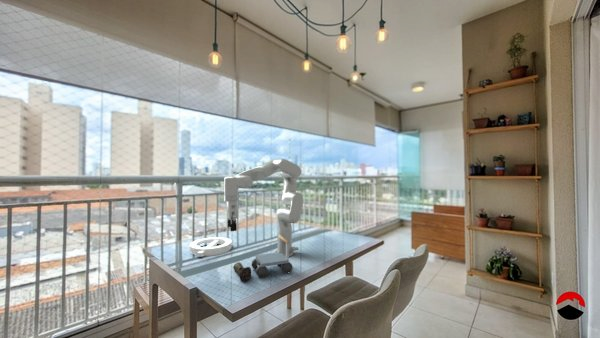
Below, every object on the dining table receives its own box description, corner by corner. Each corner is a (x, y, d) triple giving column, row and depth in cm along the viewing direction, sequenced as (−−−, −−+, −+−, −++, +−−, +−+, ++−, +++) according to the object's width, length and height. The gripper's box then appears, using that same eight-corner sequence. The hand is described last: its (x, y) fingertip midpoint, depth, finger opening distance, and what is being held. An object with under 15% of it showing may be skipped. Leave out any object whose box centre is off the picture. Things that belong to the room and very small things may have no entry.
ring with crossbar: (221, 241, 190) (221, 235, 190) (238, 250, 170) (238, 243, 170) (184, 248, 171) (184, 242, 171) (198, 259, 151) (198, 252, 151)
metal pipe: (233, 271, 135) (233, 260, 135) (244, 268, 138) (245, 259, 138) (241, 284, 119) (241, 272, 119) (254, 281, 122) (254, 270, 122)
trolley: (284, 263, 145) (284, 234, 145) (292, 273, 132) (293, 240, 132) (251, 268, 137) (251, 237, 137) (256, 279, 124) (257, 245, 124)
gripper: (241, 199, 128) (241, 231, 128) (235, 196, 144) (236, 224, 144) (226, 201, 125) (227, 233, 125) (222, 197, 140) (223, 226, 141)
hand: (232, 228), depth 134 cm, fingers open, 9 cm apart
